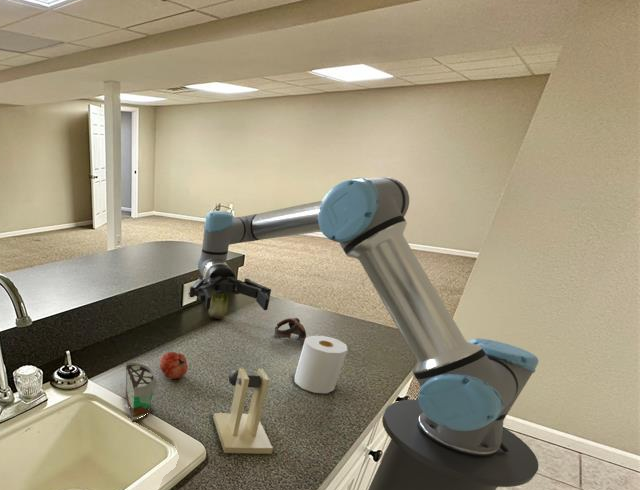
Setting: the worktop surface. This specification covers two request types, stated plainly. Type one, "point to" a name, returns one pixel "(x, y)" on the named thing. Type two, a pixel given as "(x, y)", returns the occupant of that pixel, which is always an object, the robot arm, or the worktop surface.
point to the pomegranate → (173, 365)
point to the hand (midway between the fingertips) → (237, 304)
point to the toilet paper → (320, 364)
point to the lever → (253, 380)
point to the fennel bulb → (218, 305)
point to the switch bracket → (244, 419)
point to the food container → (139, 390)
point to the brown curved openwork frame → (290, 329)
